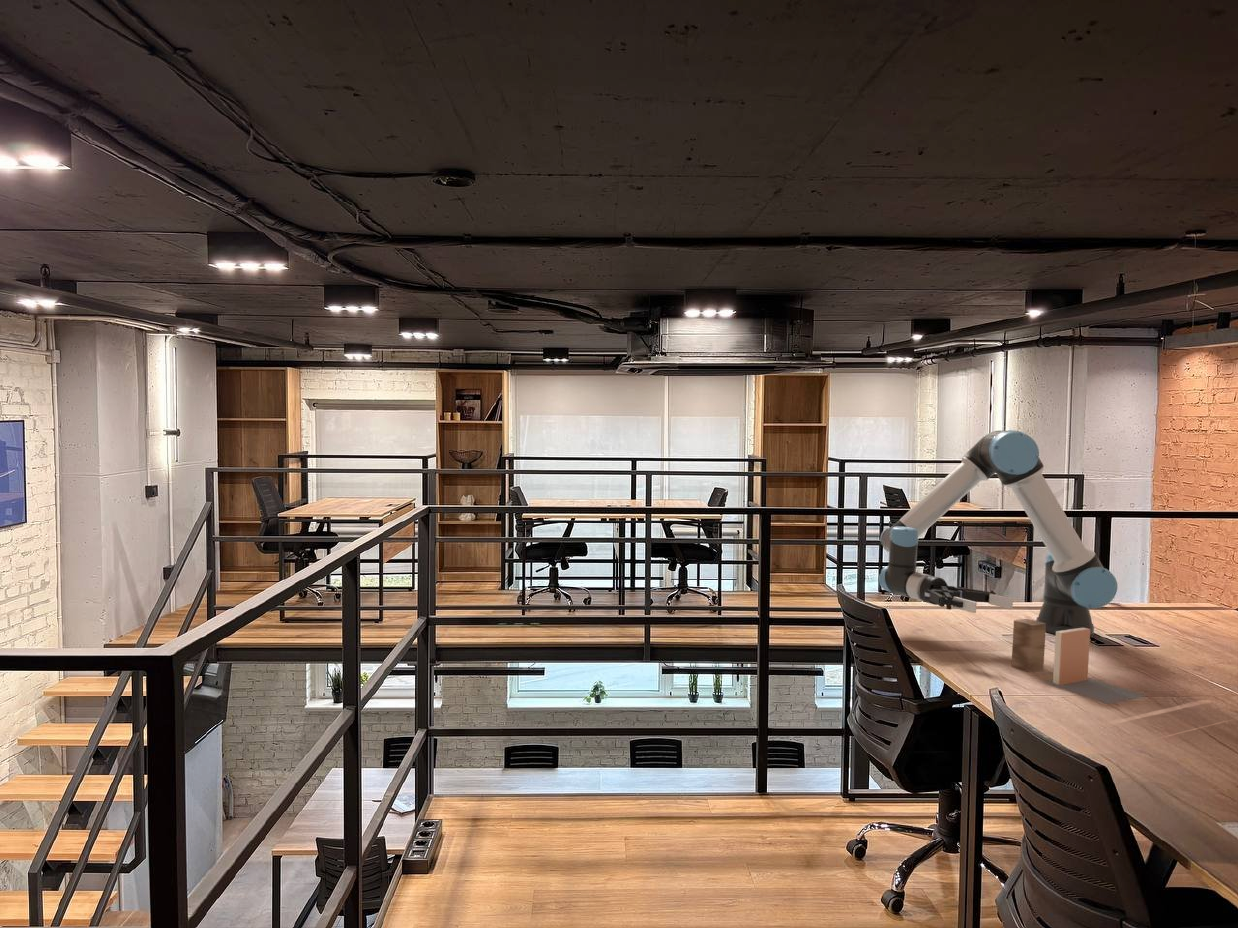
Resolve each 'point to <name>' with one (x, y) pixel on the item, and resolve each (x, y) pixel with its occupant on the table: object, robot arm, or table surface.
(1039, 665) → the walnut block
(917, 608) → the table surface
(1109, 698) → the slate mat
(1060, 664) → the tile
